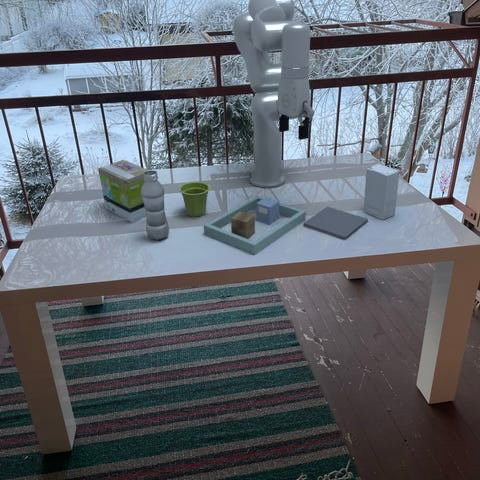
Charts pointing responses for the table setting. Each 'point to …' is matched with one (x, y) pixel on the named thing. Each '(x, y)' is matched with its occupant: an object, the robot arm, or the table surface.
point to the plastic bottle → (154, 206)
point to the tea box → (123, 189)
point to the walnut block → (243, 224)
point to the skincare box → (381, 191)
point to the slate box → (267, 210)
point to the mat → (335, 223)
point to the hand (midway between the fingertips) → (293, 134)
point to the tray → (265, 240)
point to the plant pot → (195, 197)
